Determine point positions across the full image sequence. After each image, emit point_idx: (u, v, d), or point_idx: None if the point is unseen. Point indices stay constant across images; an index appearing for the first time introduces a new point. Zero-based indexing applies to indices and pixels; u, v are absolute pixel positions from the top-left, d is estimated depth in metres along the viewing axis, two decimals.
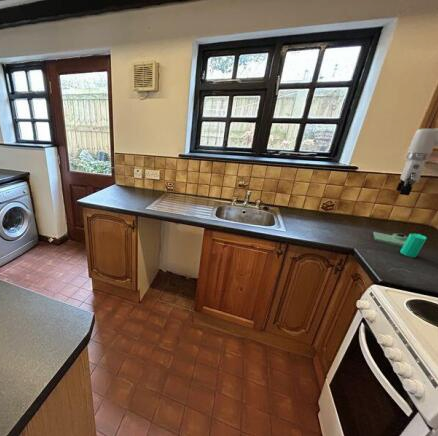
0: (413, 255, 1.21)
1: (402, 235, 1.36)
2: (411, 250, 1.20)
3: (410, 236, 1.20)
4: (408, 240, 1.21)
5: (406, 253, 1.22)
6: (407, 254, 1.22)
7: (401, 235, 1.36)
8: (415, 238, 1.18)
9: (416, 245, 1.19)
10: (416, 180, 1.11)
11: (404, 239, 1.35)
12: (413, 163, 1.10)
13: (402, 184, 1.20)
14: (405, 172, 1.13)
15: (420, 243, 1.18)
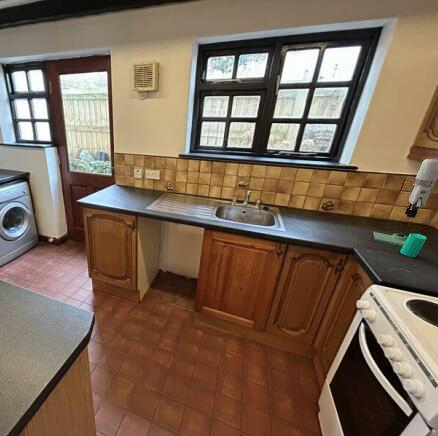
0: (413, 255, 1.21)
1: (402, 235, 1.36)
2: (411, 250, 1.20)
3: (410, 236, 1.20)
4: (408, 240, 1.21)
5: (406, 253, 1.22)
6: (407, 254, 1.22)
7: (401, 235, 1.36)
8: (415, 238, 1.18)
9: (416, 245, 1.19)
10: (423, 204, 1.25)
11: (404, 239, 1.35)
12: (420, 189, 1.25)
13: (410, 209, 1.34)
14: (413, 196, 1.28)
15: (420, 243, 1.18)
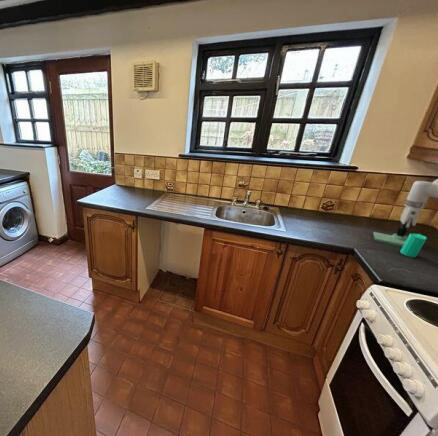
0: (413, 255, 1.21)
1: (401, 236, 1.37)
2: (411, 250, 1.20)
3: (410, 236, 1.20)
4: (408, 240, 1.21)
5: (406, 253, 1.22)
6: (407, 254, 1.22)
7: (400, 236, 1.37)
8: (415, 238, 1.18)
9: (416, 245, 1.19)
10: (413, 224, 1.30)
11: (404, 239, 1.35)
12: (411, 210, 1.29)
13: None
14: (404, 216, 1.32)
15: (420, 243, 1.18)
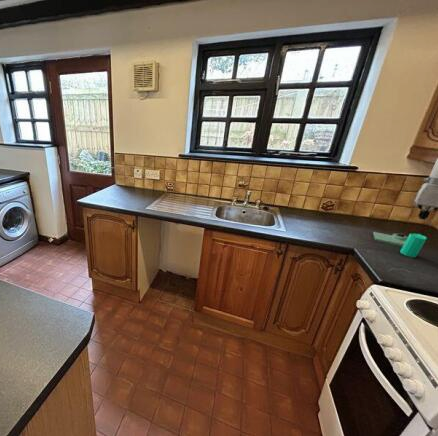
0: (413, 255, 1.21)
1: (402, 235, 1.36)
2: (411, 250, 1.20)
3: (410, 236, 1.20)
4: (408, 240, 1.21)
5: (406, 253, 1.22)
6: (407, 254, 1.22)
7: (401, 235, 1.36)
8: (415, 238, 1.18)
9: (416, 245, 1.19)
10: (415, 201, 1.17)
11: (404, 239, 1.35)
12: (422, 185, 1.17)
13: None
14: None
15: (420, 243, 1.18)
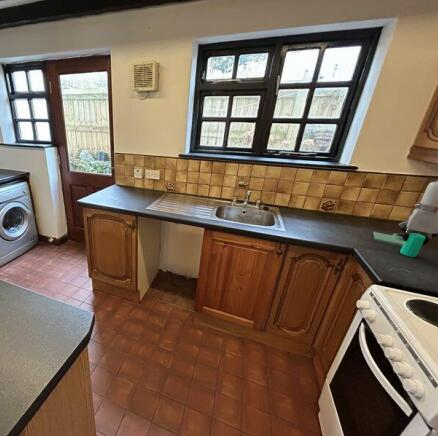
0: (413, 255, 1.21)
1: (402, 235, 1.36)
2: (411, 249, 1.20)
3: (409, 236, 1.20)
4: (407, 240, 1.21)
5: (406, 253, 1.22)
6: (407, 254, 1.22)
7: (401, 235, 1.36)
8: (414, 238, 1.18)
9: (416, 245, 1.19)
10: (407, 226, 1.20)
11: None
12: None
13: None
14: None
15: (419, 243, 1.18)
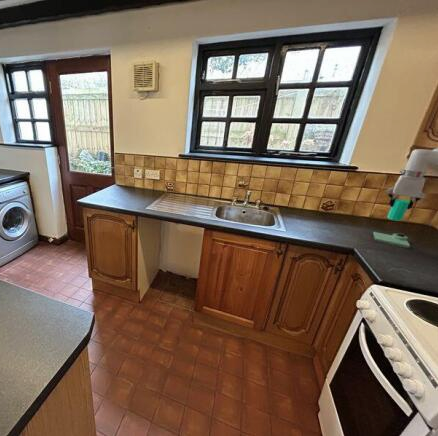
0: (399, 219, 1.31)
1: (402, 235, 1.36)
2: (397, 213, 1.30)
3: (395, 201, 1.30)
4: (393, 205, 1.31)
5: (392, 217, 1.32)
6: (393, 218, 1.32)
7: (401, 235, 1.36)
8: (399, 202, 1.28)
9: (401, 209, 1.29)
10: (393, 191, 1.29)
11: (404, 239, 1.35)
12: (399, 177, 1.29)
13: None
14: None
15: (404, 207, 1.28)
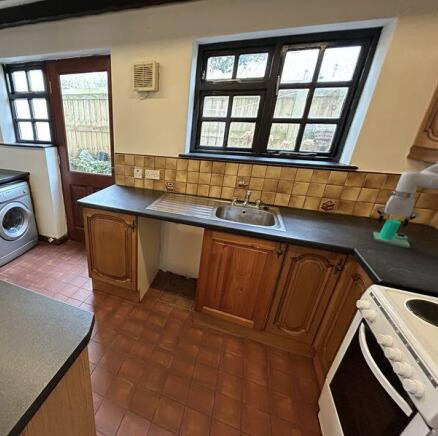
0: (389, 238, 1.35)
1: (402, 235, 1.36)
2: (388, 233, 1.35)
3: (387, 221, 1.35)
4: (385, 225, 1.36)
5: (383, 236, 1.37)
6: (384, 237, 1.37)
7: (401, 235, 1.36)
8: (391, 223, 1.33)
9: (392, 229, 1.33)
10: (384, 211, 1.34)
11: (404, 239, 1.35)
12: (390, 197, 1.34)
13: (404, 220, 1.32)
14: None
15: (395, 227, 1.33)
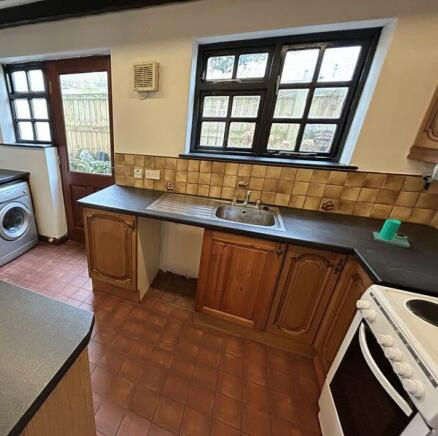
0: (389, 238, 1.35)
1: (402, 235, 1.36)
2: (388, 233, 1.35)
3: (387, 221, 1.35)
4: (385, 225, 1.36)
5: (383, 236, 1.37)
6: (384, 237, 1.37)
7: (401, 235, 1.36)
8: (391, 223, 1.33)
9: (392, 229, 1.33)
10: (432, 176, 1.22)
11: (404, 239, 1.35)
12: None
13: None
14: None
15: (395, 227, 1.33)
